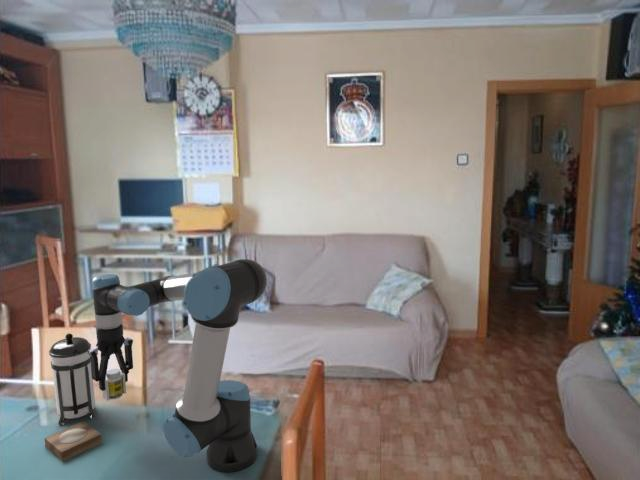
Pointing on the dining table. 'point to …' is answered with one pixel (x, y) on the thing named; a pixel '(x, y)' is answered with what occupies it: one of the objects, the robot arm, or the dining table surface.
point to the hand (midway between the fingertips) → (114, 395)
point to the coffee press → (72, 378)
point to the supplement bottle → (114, 383)
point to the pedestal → (72, 441)
